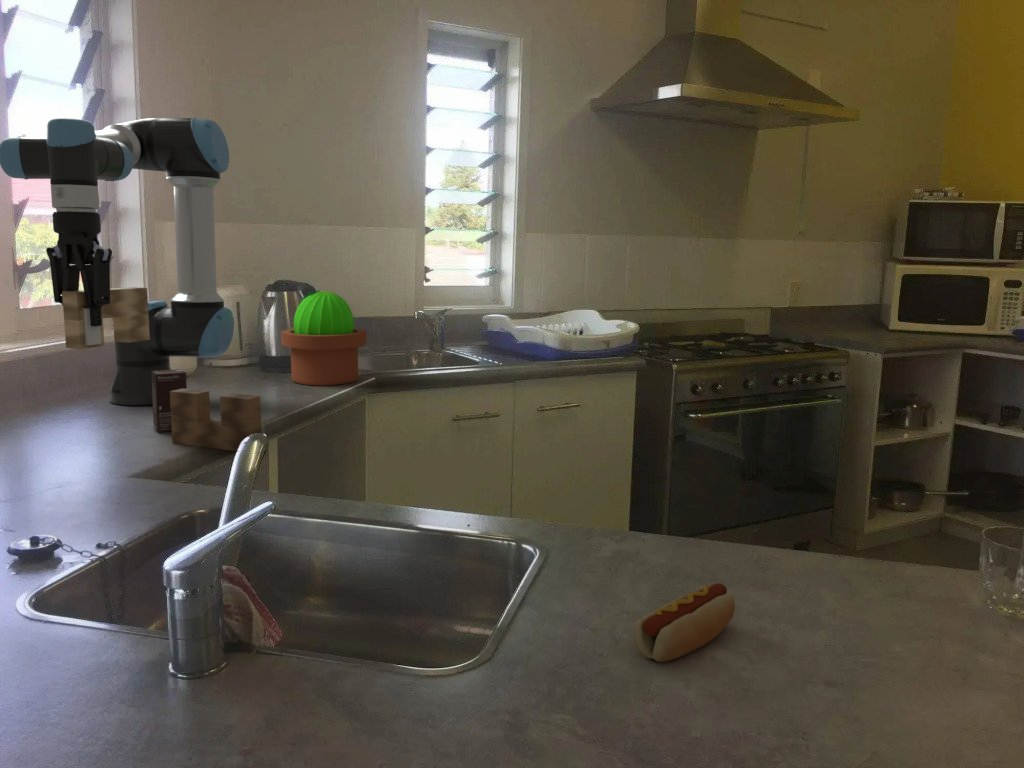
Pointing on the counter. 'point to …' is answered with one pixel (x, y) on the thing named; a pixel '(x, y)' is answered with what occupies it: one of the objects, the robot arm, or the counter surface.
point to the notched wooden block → (202, 431)
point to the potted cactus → (324, 341)
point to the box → (165, 396)
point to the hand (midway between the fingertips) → (84, 343)
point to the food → (685, 623)
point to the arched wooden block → (108, 316)
